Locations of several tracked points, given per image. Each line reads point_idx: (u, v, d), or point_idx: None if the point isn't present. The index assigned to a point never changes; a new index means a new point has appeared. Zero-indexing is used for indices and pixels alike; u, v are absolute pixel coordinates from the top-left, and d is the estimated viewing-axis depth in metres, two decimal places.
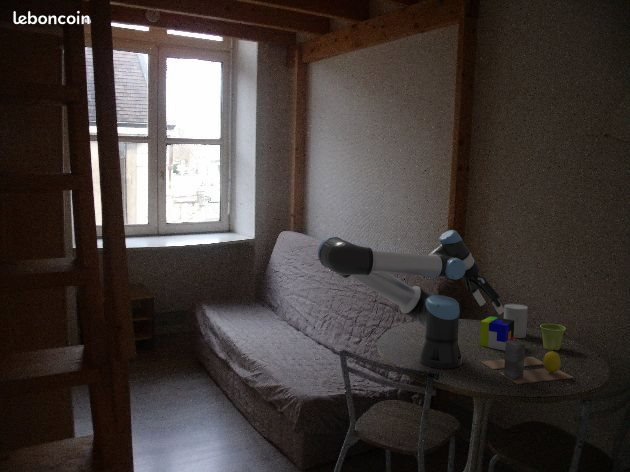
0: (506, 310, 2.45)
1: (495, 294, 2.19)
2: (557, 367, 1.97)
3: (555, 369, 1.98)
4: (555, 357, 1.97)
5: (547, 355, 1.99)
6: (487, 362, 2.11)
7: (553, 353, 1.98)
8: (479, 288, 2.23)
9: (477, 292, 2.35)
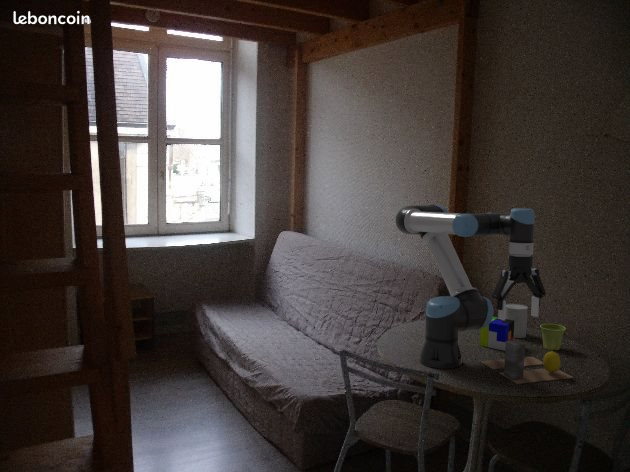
0: (506, 310, 2.45)
1: (496, 292, 1.90)
2: (557, 367, 1.97)
3: (555, 369, 1.98)
4: (555, 357, 1.97)
5: (547, 355, 1.99)
6: (487, 362, 2.11)
7: (553, 353, 1.98)
8: None
9: (535, 299, 1.96)
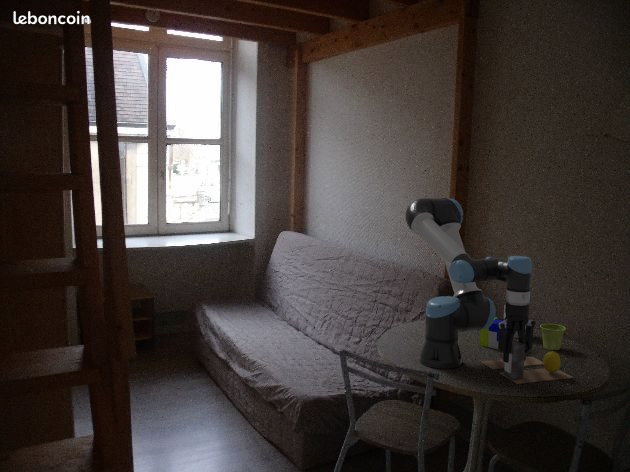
0: None
1: (501, 346, 1.93)
2: (557, 367, 1.97)
3: (555, 369, 1.98)
4: (555, 357, 1.97)
5: (547, 355, 1.99)
6: (487, 362, 2.11)
7: (553, 353, 1.98)
8: None
9: None
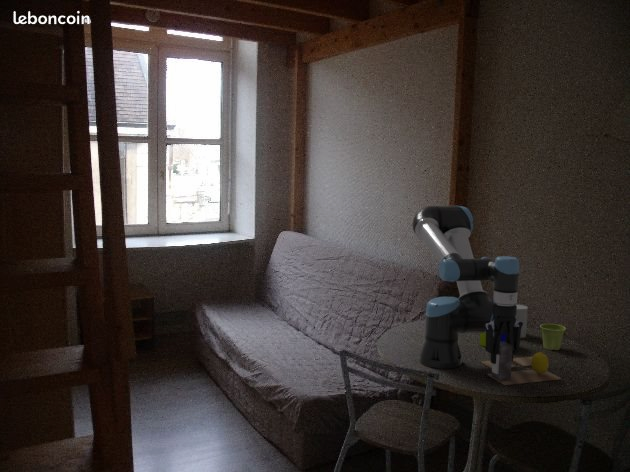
0: None
1: (488, 347, 1.91)
2: (545, 368, 1.96)
3: (543, 370, 1.96)
4: (543, 358, 1.96)
5: (535, 356, 1.97)
6: (487, 362, 2.11)
7: (541, 354, 1.97)
8: None
9: None
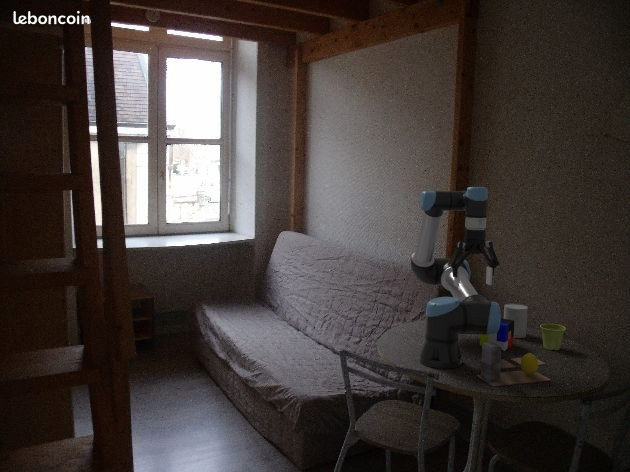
0: (506, 310, 2.45)
1: (451, 261, 2.13)
2: (535, 369, 1.95)
3: (532, 371, 1.95)
4: (533, 359, 1.95)
5: (524, 357, 1.96)
6: None
7: (530, 355, 1.96)
8: (463, 252, 2.16)
9: (489, 269, 2.18)
